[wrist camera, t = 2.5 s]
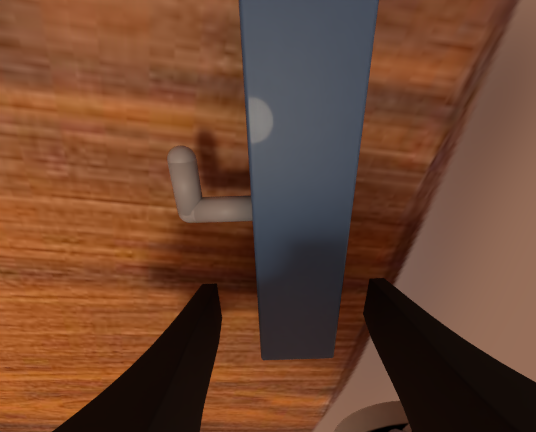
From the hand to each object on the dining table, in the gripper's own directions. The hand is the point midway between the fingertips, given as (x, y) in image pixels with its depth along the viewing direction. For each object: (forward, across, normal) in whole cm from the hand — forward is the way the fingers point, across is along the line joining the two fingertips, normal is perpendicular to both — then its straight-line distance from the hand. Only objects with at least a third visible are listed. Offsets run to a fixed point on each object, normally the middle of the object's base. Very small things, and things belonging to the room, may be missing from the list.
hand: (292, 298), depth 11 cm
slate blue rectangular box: (+2, +1, -5) cm, 5 cm away
